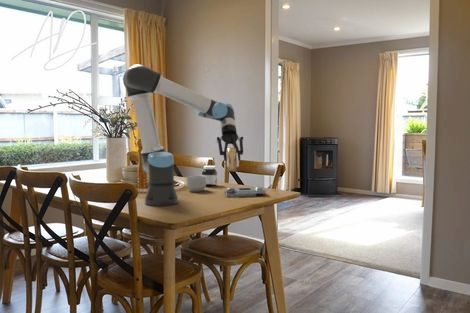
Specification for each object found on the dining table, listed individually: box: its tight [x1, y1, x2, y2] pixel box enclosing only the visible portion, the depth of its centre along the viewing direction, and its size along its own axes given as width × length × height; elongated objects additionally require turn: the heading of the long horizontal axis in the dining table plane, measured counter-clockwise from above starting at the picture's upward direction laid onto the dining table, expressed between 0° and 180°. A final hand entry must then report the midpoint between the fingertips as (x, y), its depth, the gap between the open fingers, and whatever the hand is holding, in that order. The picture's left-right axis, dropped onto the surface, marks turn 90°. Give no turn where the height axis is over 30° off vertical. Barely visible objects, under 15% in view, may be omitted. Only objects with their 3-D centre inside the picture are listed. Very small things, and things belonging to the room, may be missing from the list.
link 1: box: [224, 187, 257, 198], centre depth 212 cm, size 15×10×4 cm, turn 98°
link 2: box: [233, 186, 267, 196], centre depth 213 cm, size 15×10×4 cm, turn 98°
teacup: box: [185, 174, 207, 193], centre depth 226 cm, size 14×11×8 cm
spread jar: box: [201, 165, 218, 188], centre depth 242 cm, size 12×11×12 cm
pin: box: [227, 147, 237, 172], centre depth 197 cm, size 4×4×11 cm
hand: (233, 165), depth 194 cm, fingers closed on pin, 4 cm apart
